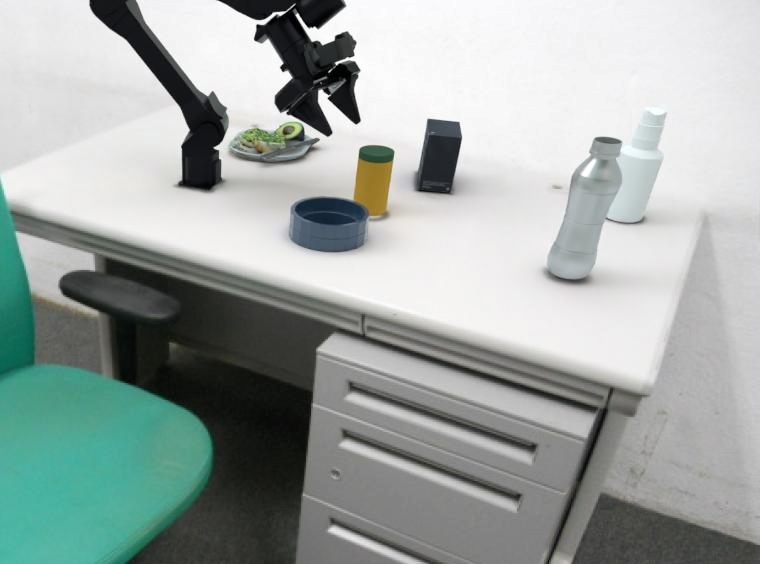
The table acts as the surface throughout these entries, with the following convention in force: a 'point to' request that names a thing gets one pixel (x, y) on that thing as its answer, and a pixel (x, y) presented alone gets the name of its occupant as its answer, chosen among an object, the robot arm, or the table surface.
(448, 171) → the small box
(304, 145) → the salad plate
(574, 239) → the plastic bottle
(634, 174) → the spray bottle
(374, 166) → the green-capped yellow cylinder
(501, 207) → the table surface
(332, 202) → the bowl
